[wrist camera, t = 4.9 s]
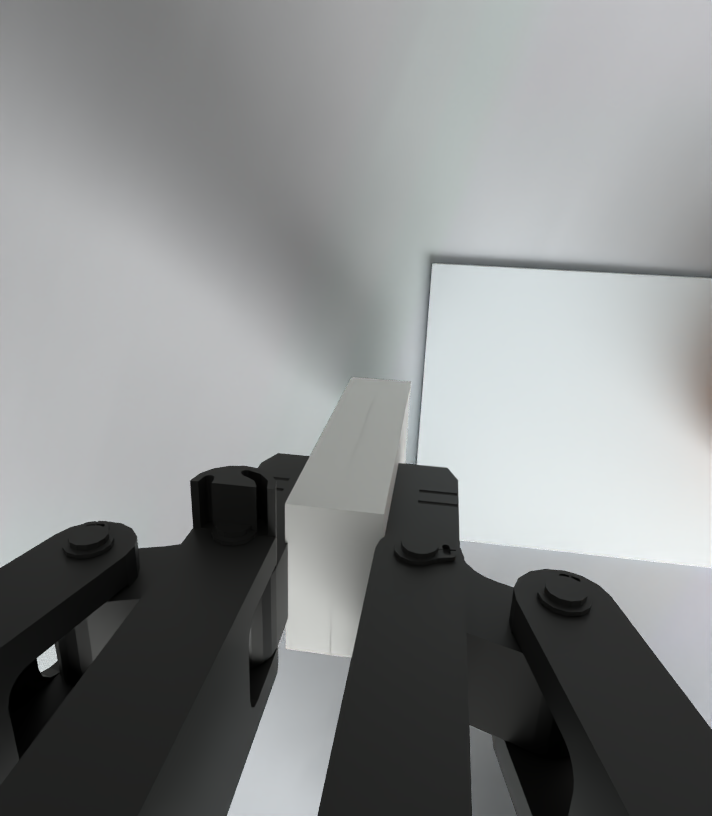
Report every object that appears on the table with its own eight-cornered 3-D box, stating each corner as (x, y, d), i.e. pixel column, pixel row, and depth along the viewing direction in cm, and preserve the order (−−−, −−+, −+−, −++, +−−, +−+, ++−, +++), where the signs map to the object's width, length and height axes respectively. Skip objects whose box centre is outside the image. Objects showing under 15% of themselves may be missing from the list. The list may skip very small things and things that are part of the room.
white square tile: (411, 531, 18) (411, 535, 18) (432, 262, 16) (432, 264, 16) (727, 565, 17) (730, 569, 17) (809, 283, 15) (813, 284, 14)
